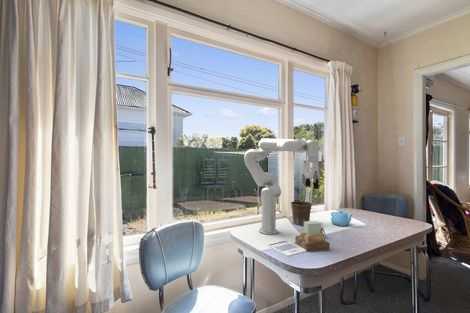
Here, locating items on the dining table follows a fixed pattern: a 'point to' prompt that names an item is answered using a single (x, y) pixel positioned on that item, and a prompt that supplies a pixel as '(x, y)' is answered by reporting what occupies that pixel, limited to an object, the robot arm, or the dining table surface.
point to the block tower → (311, 241)
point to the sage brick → (312, 227)
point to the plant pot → (300, 212)
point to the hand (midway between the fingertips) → (311, 187)
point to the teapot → (340, 218)
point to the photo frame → (289, 252)
